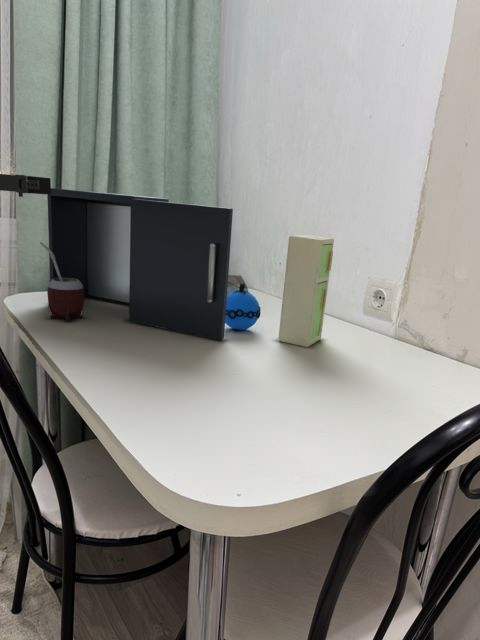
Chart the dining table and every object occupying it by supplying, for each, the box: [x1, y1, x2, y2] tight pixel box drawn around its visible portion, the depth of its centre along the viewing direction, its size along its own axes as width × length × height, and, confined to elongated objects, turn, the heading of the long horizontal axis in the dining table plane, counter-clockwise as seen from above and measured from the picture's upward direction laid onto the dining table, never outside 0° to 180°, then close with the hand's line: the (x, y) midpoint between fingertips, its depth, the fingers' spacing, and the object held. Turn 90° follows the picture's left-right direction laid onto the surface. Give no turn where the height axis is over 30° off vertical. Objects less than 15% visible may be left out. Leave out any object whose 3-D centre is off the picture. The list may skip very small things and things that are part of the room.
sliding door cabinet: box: [46, 187, 234, 341], centre depth 108 cm, size 45×15×26 cm, turn 66°
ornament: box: [225, 283, 261, 331], centre depth 107 cm, size 9×9×10 cm
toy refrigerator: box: [278, 234, 335, 348], centre depth 101 cm, size 8×7×21 cm
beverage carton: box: [227, 274, 249, 295], centre depth 134 cm, size 8×19×7 cm, turn 7°
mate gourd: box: [39, 241, 85, 323], centre depth 103 cm, size 8×8×15 cm
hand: (20, 183), depth 89 cm, fingers open, 13 cm apart
